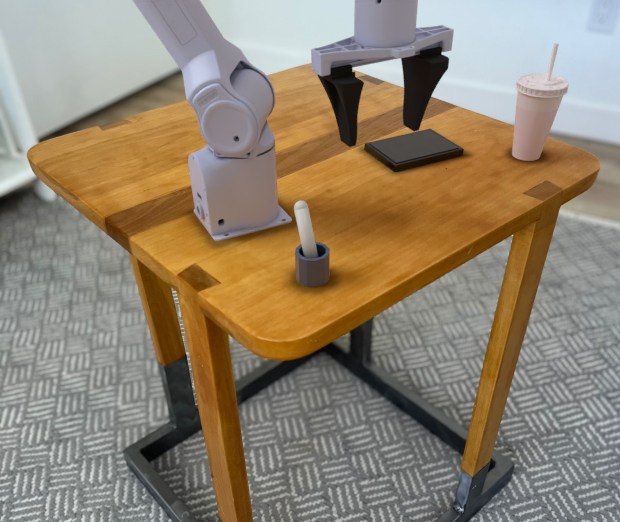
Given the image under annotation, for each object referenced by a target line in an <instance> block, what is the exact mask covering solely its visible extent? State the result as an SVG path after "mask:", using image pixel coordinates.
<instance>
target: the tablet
mask: <svg viewBox="0 0 620 522" xmlns="http://www.w3.org/2000/svg"><path fill="white" fill-rule="evenodd" d="M363 150H364V151H365V152H367V153H368V154H370V155H371V156H372V157H374V158H375V159H376V160H378V161H379V162H380V163H382V164H383V165H385V166H386V167H387V168H388V169H390V170H391V171H393V172H395V173H396V172H397V173H398V172H400V171H404V170H405V171H406V170H408V169H413V168H416V167H420V166H425V165H429V164H433V163H436V162H440V161H445V160H449V159H453V158H457V157H461V156H464V152H465V148H464V147H462V146H460V145H458V144H457V143H456V142H453V141H451V140H450V139H448V138H447V137H445V136H443V135H442V134H440V133H438V132H437V131H435V130H433V129H432V128H427V129H422V130H418V131H412V132H408V133H404V134H401V135H396V136H391V137H386V138H383V139H378V140H374V141H370V142H365V143H364V149H363Z"/></svg>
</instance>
